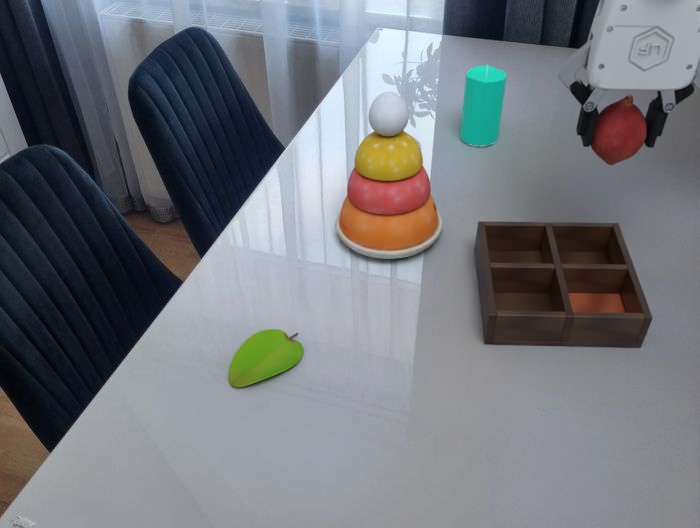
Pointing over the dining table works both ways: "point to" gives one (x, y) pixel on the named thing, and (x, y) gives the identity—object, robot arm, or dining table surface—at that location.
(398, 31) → the dining table surface
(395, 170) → the stacking toy
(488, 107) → the candle
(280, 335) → the decorative leaf
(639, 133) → the onion
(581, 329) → the grid
